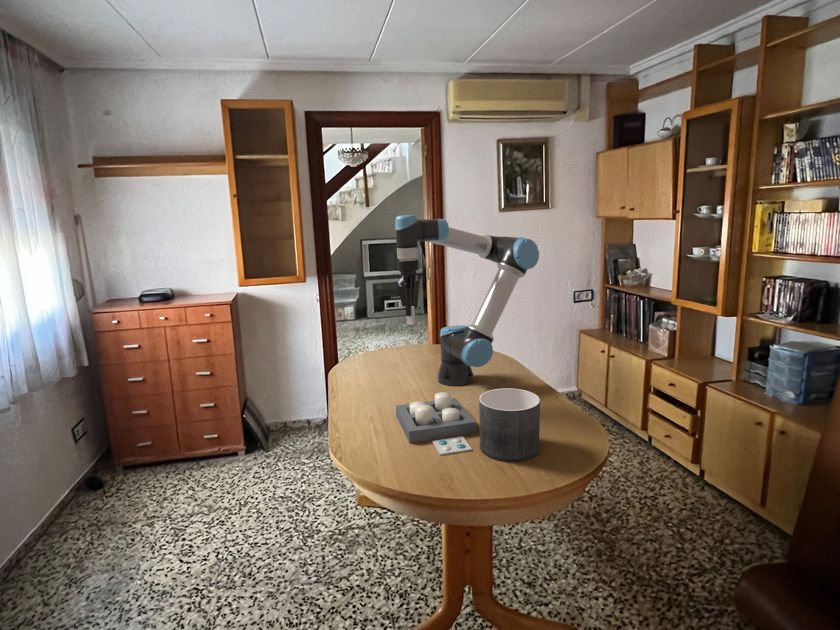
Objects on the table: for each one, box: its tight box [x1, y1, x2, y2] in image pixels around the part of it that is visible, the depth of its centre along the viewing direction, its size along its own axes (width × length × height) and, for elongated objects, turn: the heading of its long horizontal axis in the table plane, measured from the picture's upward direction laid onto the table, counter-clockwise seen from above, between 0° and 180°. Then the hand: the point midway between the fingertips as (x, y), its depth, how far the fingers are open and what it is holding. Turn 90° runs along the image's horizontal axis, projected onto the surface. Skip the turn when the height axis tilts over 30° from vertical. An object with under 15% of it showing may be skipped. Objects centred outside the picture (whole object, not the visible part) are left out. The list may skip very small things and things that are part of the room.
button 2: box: [415, 405, 433, 426], centre depth 169 cm, size 6×6×6 cm
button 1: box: [409, 401, 426, 415], centre depth 178 cm, size 6×6×6 cm
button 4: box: [442, 408, 459, 423], centre depth 171 cm, size 6×6×6 cm
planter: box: [478, 387, 541, 462], centre depth 155 cm, size 18×18×16 cm
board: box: [395, 397, 477, 444], centre depth 175 cm, size 22×22×4 cm
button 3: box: [434, 391, 452, 412], centre depth 179 cm, size 6×6×6 cm
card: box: [431, 435, 473, 456], centre depth 159 cm, size 10×9×1 cm
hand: (411, 324), depth 189 cm, fingers closed
